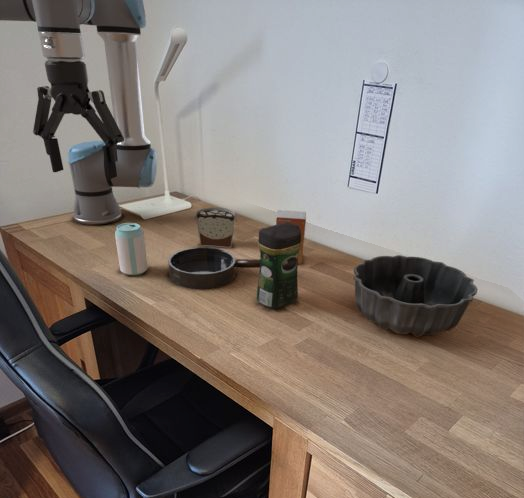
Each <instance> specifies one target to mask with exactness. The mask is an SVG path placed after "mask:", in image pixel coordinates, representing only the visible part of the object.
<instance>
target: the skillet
mask: <svg viewBox="0 0 524 498" xmlns="http://www.w3.org/2000/svg"><path fill="white" fill-rule="evenodd" d="M235 260H236V258H235V256H234V255H233V254H232V253H230V252H228V251H227V250H225V249H224V250H223V249H220V248H217V247H210V246H201V247H199V246H198V247H189V248H184V249H181V250H179V251H176V252H174V253H173V254H171V255H170V256H169V257H168V260H167V265H168V275H169V278H170V280H171V281H172V283H175V284H176V285H178V286H180V287H184V288H189V289H197V290H208V289H215V288H220V287H222V286H226V285H228V284H229V283H231V282H232V281H233V280H234V279H235V277H236V267H235Z"/></svg>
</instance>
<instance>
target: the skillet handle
mask: <svg viewBox="0 0 524 498" xmlns="http://www.w3.org/2000/svg"><path fill="white" fill-rule="evenodd" d="M236 268H237V269H260V259H259V258H254V259H253V258H244V259H243V258H238V259H237V258H236V259H235V269H236Z"/></svg>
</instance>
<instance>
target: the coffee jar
mask: <svg viewBox="0 0 524 498" xmlns="http://www.w3.org/2000/svg"><path fill="white" fill-rule="evenodd" d="M257 239H258V241H257V247H258V249H259V253H260V255H259V256H260V268H259V271H258V279H257V280H258V281H257V287H256V300H257V302H258V303H259V304H260V305H262V306H263V307H265V308H270V309H272V310H276V309H280V308H284V307H287V306H289V305H291V304H294V303H295V302H296V301H297V300H298V295H299V293H298V292H299V285H298V273H299V272H298V267H299V264H298V254H299V250H300V246H301V230H300V227H299V226H297V225H295V224H292V223H290V222H286V223H282V224H278V225H276V224H275V225H270V226H267V227H262V228H260V229H259V231H258V238H257Z"/></svg>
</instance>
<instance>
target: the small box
mask: <svg viewBox="0 0 524 498" xmlns="http://www.w3.org/2000/svg"><path fill="white" fill-rule="evenodd" d="M286 222H290V223H292V224H295V225H297V226H299V227H300V230H301V246H300V250H299V254H298V265H302V263H303V253H304V243H305V232H306V223H307V212H306V211H297V210H282V209H281V210H280V209H277V210H276V217H275V225H278V224H282V223H286Z"/></svg>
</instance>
